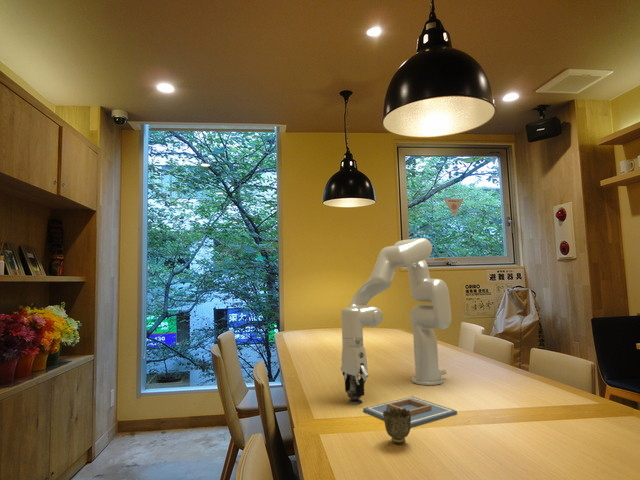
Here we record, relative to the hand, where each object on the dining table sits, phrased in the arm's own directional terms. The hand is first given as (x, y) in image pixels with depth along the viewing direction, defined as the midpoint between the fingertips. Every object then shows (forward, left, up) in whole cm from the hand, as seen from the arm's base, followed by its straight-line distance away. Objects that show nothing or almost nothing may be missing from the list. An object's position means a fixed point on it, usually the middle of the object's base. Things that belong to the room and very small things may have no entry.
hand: (354, 393), depth 146 cm
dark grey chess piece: (0, 0, -3) cm, 3 cm away
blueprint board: (-7, +20, -3) cm, 21 cm away
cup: (+12, +36, -3) cm, 38 cm away
